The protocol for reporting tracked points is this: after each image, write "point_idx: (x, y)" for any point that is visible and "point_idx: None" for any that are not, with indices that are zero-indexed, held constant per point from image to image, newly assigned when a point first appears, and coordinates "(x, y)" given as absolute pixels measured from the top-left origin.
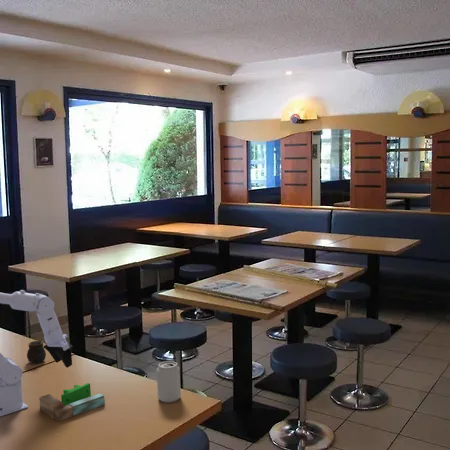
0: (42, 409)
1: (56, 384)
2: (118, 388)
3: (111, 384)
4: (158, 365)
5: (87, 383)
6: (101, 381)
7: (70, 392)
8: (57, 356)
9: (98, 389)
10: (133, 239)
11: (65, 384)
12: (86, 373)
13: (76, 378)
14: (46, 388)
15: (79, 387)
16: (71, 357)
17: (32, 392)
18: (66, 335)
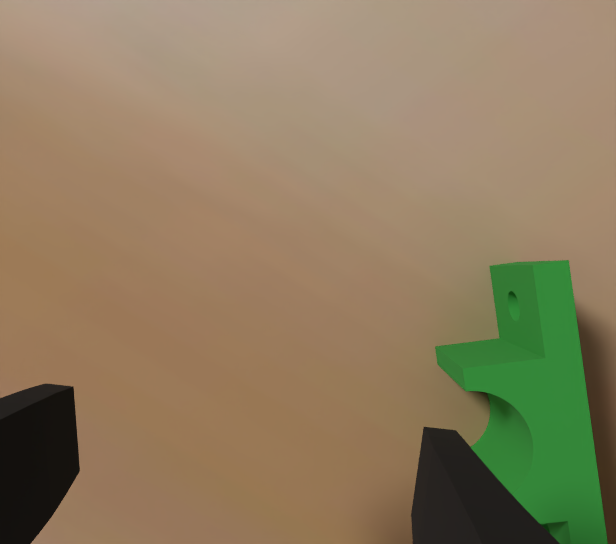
0: None
1: (77, 314)
2: (577, 19)
3: (453, 9)
4: None
5: (539, 275)
6: (326, 30)
7: (601, 519)
8: (8, 497)
9: (453, 144)
10: None
11: (137, 266)
12: (68, 16)
13: (97, 135)
14: (86, 411)
15: (563, 388)
16: (543, 528)
17: (70, 524)
18: None
